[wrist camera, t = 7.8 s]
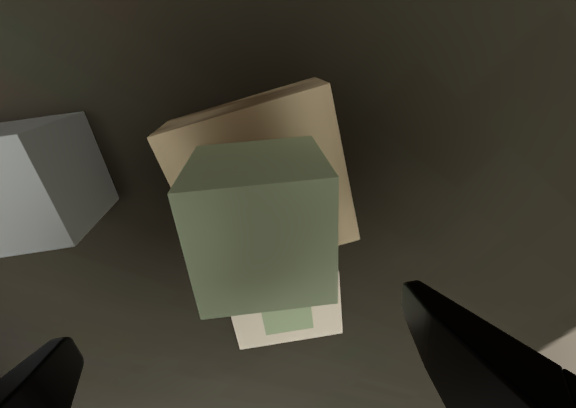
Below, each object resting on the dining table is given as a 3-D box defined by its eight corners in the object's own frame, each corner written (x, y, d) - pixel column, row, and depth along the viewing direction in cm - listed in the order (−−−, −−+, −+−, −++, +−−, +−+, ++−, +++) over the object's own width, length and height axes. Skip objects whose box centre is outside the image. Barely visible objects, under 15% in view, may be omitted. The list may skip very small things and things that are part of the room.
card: (240, 345, 24) (240, 350, 24) (224, 286, 21) (223, 291, 21) (341, 329, 24) (342, 334, 24) (337, 268, 22) (339, 273, 21)
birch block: (222, 239, 20) (215, 279, 17) (170, 119, 17) (146, 137, 13) (341, 205, 20) (360, 239, 16) (313, 76, 16) (329, 83, 13)
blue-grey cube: (33, 210, 18) (-41, 263, 14) (-15, 124, 16) (-123, 153, 11) (119, 198, 18) (75, 246, 14) (84, 110, 16) (16, 134, 11)
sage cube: (216, 242, 16) (200, 320, 11) (196, 145, 13) (167, 193, 9) (314, 232, 16) (337, 303, 11) (311, 135, 14) (339, 176, 9)
